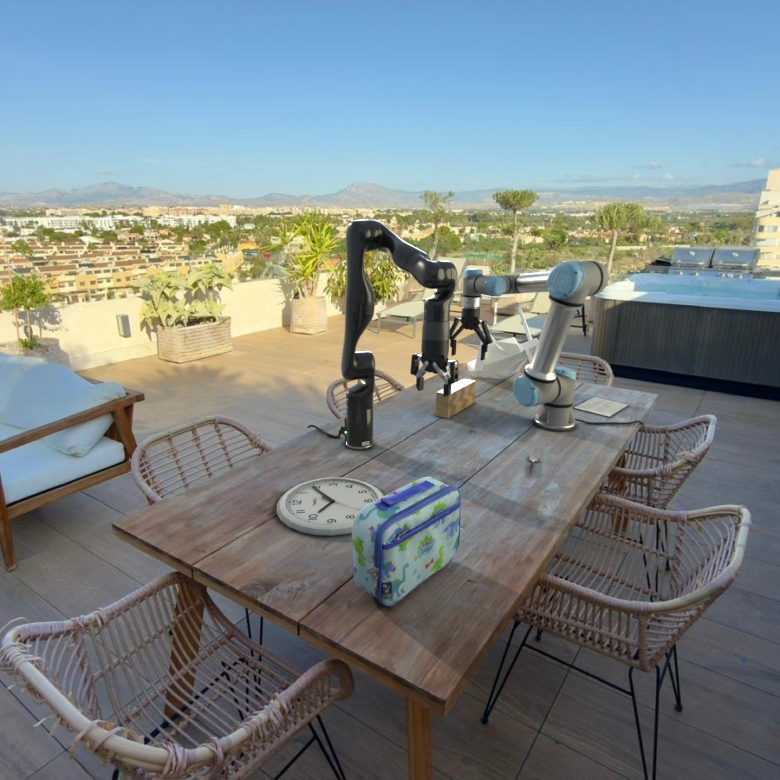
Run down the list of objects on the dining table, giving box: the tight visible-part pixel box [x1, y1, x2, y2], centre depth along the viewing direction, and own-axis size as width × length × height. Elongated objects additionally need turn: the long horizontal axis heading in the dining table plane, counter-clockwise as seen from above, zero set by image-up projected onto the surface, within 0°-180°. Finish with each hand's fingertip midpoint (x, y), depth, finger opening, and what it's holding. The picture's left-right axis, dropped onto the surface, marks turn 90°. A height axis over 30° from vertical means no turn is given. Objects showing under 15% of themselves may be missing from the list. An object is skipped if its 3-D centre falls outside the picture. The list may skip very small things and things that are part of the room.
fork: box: [529, 450, 539, 475], centre depth 168 cm, size 3×16×2 cm, turn 160°
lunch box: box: [351, 476, 462, 607], centre depth 111 cm, size 26×11×21 cm, turn 135°
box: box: [434, 378, 477, 419], centre depth 219 cm, size 25×6×10 cm, turn 146°
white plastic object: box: [466, 306, 539, 378], centre depth 259 cm, size 37×45×31 cm
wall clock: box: [276, 476, 385, 537], centre depth 142 cm, size 30×2×30 cm
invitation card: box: [573, 396, 629, 418], centre depth 226 cm, size 21×1×15 cm
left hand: (433, 393), depth 147 cm, fingers open, 8 cm apart
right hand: (467, 357), depth 222 cm, fingers open, 13 cm apart
